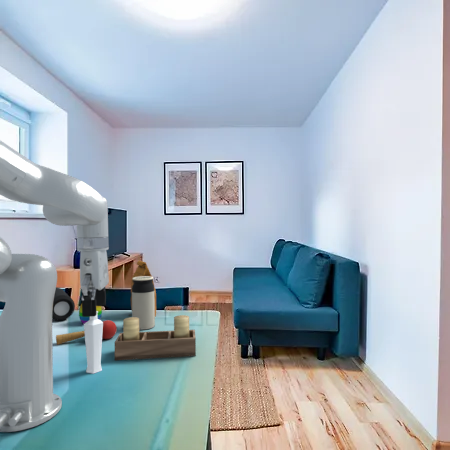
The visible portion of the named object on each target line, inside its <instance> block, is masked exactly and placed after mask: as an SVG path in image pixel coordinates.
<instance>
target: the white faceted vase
mask: <svg viewBox="0 0 450 450" xmlns="http://www.w3.org/2000/svg"><path fill="white" fill-rule="evenodd" d="M96 313H98V311H96ZM83 329H84V330H83V331H84V332H85V336H84V341H85V351H86V364H87V367H86V371H85V373H86V374H96V373H98V372H99V373H100V372H101V371H103V369H102V363H101V361H102V348H103V347H102V345H103V344H102V343H103V338H102V331H103V321H102V320H101V319H100V320H99V319H98V317H97V314H96V316H90V320H89V321H88V322H86V323H85V324H83Z"/></svg>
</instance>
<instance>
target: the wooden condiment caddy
mask: <svg viewBox="0 0 450 450" xmlns="http://www.w3.org/2000/svg"><path fill="white" fill-rule="evenodd" d="M122 323H123V325H122V326H123V328H122V329H123V330H122V331H123V332H119V334H118V336H117V338H116V339H115V341H114V361H128V360H146V359H148V360H149V359H165V358H182V357H196V356H197V355H196V354H197V353H196V351H197V348H196V342H197V341H196V330H195V329H190V316H188V315H186V314H185V315H183V314H182V315H176V316H174V317H173V330H160V331H158V330H156V331H140V330H139V318H136V317H132V316H131V317H126V318H124V319H123V321H122Z"/></svg>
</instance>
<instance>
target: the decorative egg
mask: <svg viewBox="0 0 450 450" xmlns="http://www.w3.org/2000/svg"><path fill="white" fill-rule="evenodd" d="M78 310H79V311H78V317H79V320H80V322H81V323H82V324H83V325H84V324H85V323H86V322H88V321H89V320H90V316H89V317H83V316H82V303H81V304H80V307H79V309H78ZM96 311H98V313H97V317H98V319H99V320H101V318H102V314H103V309H102V306H96Z"/></svg>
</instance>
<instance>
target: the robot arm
mask: <svg viewBox="0 0 450 450" xmlns="http://www.w3.org/2000/svg"><path fill="white" fill-rule="evenodd" d="M0 196H2V197H4V198H6V199H8V200H11V201H14V202H18V203H23V204H28V205H35V206H36V205H38V206H42V214H43V216H44V218H45V219H46V220H47V221H48V222H49V223H51V224H53V225H54V226H55V225H56V226H60V227H61V226H63V227H67V226H76V248H77V249H76V250H77V252H80V259H79V285H80V289H81V304H82V316H83V317H89V316H96V314H97V313H96V306H101V307H106V304H107V302H106V301H107V294H106V292H107V291H106V286H108V285H109V283H110V277H109V275H110V273H109V262H108V253H107V251H108V250H109V248H110V247H109V246H110V245H109V218H108V217H109V214H108V207H109V206H108V200H107V199H106V198H105V196H102V194H100V193H99V192H98V191H97V190H96V189H94V188H93V187H92V186H91V185H90V184H88V183H86V182H84V181H83V180H81V179H79V178H76V177H74V176H72V175H69V174H66V173H64V172H60V171H58V170H55V169H52V168H51V167H46V166H43V165H40V164H37V163H36V162H33V161H32V160H30V159H29V158H27V157H26V156H24V155H23V154H21V153H20V152H18V151H17V150H15V149H14V148H13V147H11V146H9V145H8V144H7V143H5V142H4V141H2V140H0ZM57 284H58V272H57V268H56V266H55V265H54V263H53V262H52V261H51V260H50V259H49V258H47V257H45V256H43V255H39V254H33V253H32V254H31V253H12V250H11V248H10V246H9V244H8V242H6V241H5V240H4V238H3V237H1V236H0V302H2V303H5V305H4V308H3V309H2V312H1V314H0V433H11V432H12V433H13V432H19V431H24V430H25V431H26V430H28V429H31V428H34V427H38V426H39V425H42V424H43V423H46V422H48V421H49V420H51V419H52V418H54V417H55V416H56V415H57V414H58V413H59V411H60V410H61V408H62V404H63V403H62V401H63V400H62V397H60V396H59V395H58V394H56V393H54V369H53V366H54V364H53V358H54V357H53V356H54V355H53V354H54V353H53V351H54V350H53V319H52V309H53V300H54V294H55V289H56V288H57Z"/></svg>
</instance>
